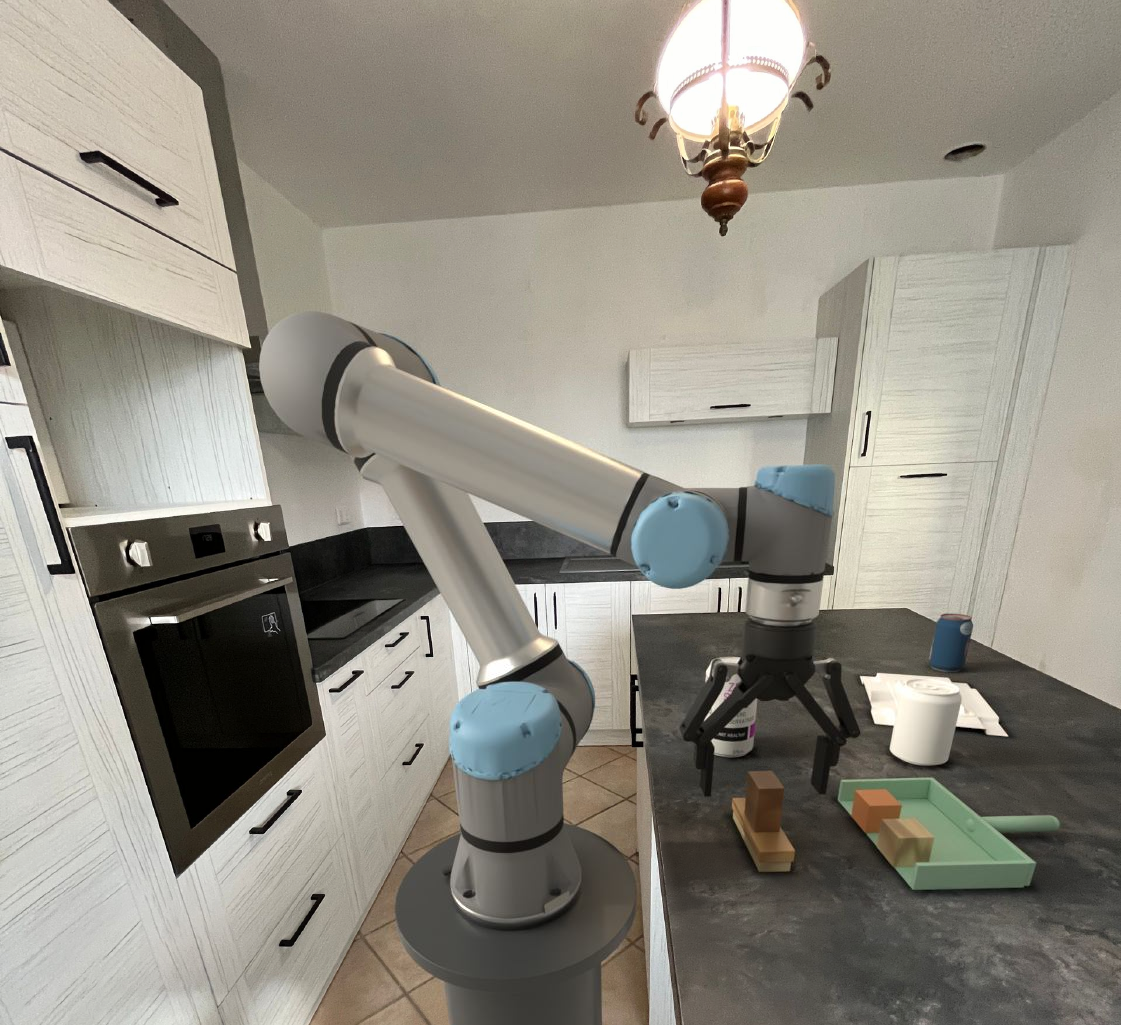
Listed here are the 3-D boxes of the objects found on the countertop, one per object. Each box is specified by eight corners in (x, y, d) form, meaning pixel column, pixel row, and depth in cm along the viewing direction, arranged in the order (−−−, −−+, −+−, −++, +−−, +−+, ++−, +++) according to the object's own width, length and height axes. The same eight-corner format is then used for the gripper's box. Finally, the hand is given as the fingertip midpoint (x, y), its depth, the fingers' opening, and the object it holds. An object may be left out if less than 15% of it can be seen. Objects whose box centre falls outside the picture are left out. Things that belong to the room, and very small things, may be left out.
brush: (757, 873, 68) (764, 806, 65) (730, 817, 79) (735, 757, 76) (792, 872, 68) (801, 805, 65) (760, 816, 79) (766, 756, 76)
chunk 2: (899, 838, 66) (934, 837, 66) (881, 818, 70) (915, 818, 70) (893, 867, 68) (928, 866, 68) (876, 846, 72) (909, 846, 72)
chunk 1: (869, 805, 73) (902, 805, 73) (855, 789, 77) (886, 789, 77) (864, 833, 74) (896, 832, 74) (850, 816, 78) (881, 815, 78)
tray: (966, 683, 124) (970, 666, 122) (1008, 742, 100) (1014, 722, 98) (858, 675, 130) (861, 660, 129) (873, 729, 106) (877, 710, 105)
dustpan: (913, 890, 65) (918, 865, 63) (837, 799, 82) (840, 779, 81) (1122, 885, 64) (1131, 860, 63) (1000, 795, 82) (1006, 775, 81)
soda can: (970, 672, 130) (982, 619, 125) (938, 673, 130) (948, 620, 126) (952, 663, 136) (963, 612, 132) (921, 664, 137) (931, 613, 132)
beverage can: (944, 773, 88) (961, 699, 84) (884, 760, 93) (897, 688, 89) (950, 753, 94) (966, 683, 90) (893, 741, 99) (906, 674, 95)
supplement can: (724, 734, 104) (730, 652, 99) (763, 749, 98) (771, 664, 92) (691, 746, 100) (696, 662, 95) (730, 763, 94) (736, 674, 88)
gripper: (671, 629, 60) (663, 808, 68) (916, 623, 60) (880, 804, 67) (660, 612, 67) (654, 776, 75) (879, 607, 67) (851, 773, 74)
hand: (761, 790), depth 71 cm, fingers open, 13 cm apart
